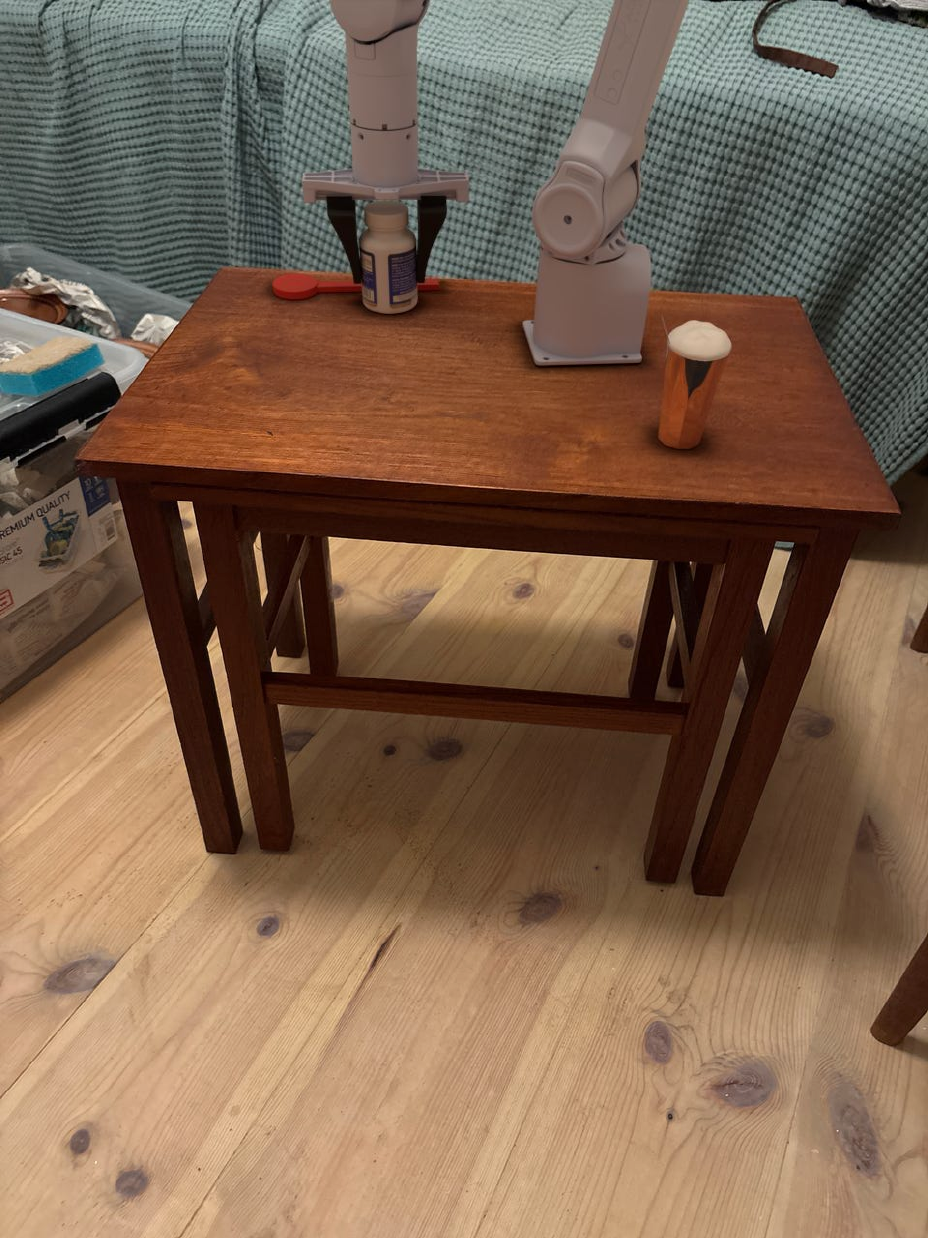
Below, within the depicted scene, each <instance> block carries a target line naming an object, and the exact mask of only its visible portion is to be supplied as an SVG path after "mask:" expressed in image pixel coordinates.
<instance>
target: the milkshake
mask: <svg viewBox="0 0 928 1238" xmlns="http://www.w3.org/2000/svg"><path fill="white" fill-rule="evenodd" d="M661 319H662V325H663V326H664V327H663V328H664V331H665V335H666V353H665V362H664V363H665V365H664V381H663V391H662V392H663V394H662V401H661V410H660V419H659V426H658V434H657V435H658V436H657V438H658V440H659V441H660V442H661V443H662V444H663V445H664V446H666V447H669V448H672V449H675V450H690V449H691V450H692V448H694V447H696V446H698V445H700V441H701V439H702V435H703V432H704V429H705V426H706V423H707V420H708V416H709V414H710V411H711V408H712V405H713V401H714V399H715V395H716V391H717V389H718V386H719V384H720V382H721V381H720V380H721V378H722V375H723V373H724V370H725V366H726V364H727V361H728V358H729V356H730V352H731V349H732V342H731V340H730V338H729V336H728V334H727V333H726V331H725V330H723V329H722V328H719V327H717V326H716V325H714V324H713V323H711V322H708V321H699V320H695V319H694V320H693V319H692V320H689V321H687V322H685V323H683V324H681V325H679V326H677V327H674V329H672V330H671V331H670V332H669V333H668V331H667V330H668V329H667V326H666V323H665V320H664V317H663V316H661Z"/></svg>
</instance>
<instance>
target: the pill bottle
mask: <svg viewBox="0 0 928 1238" xmlns="http://www.w3.org/2000/svg"><path fill="white" fill-rule="evenodd" d="M363 210H364V211H363V213H364V214H363V215H364V216H363V217H364V225H365V227H367V228H366V229H364V230H363V231H362V232H361V233H360V235H359V239H358V248H359V256H360V267H361V283H362V292H361V296H362V303H363V305H364V306H365V307H366V308H367V309H368V310H369V311H372V312H374V313H378V314H387V315H393V314H395V315H396V314H401V313H404V312H408V311H410V310H412V309H414V307H416V305H417V303H418V291H417V237H416V234H415V233H414V232H413V231H412V230H411V229H410V228H408V226H409V224H410V218H409V216H410V215H409V214H410V213H409V207H408V206H407V204H406V203H403V202H400V201H398V200H374V201H372V202H370V203H367V204H365V206H364V209H363Z"/></svg>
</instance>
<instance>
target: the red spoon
mask: <svg viewBox="0 0 928 1238" xmlns="http://www.w3.org/2000/svg"><path fill="white" fill-rule="evenodd" d="M439 290H440V283H439V279H438V278H425V283H417V292H419V291H439ZM272 292H273V293H274V295H275V296H277V297H278V298H281V299H285V300H304V299H308V298H311V297H313V296H315V295H317V294H319V293H360V292H361V293H362V283H361V284H354V281H353V279H352V280H351V279H350V280H349V279H347V280H318V278H317V277H315V276H313V275H310V274H307V273H300V272H299V273H298V272H293V273H286V274H282V275H280V276H277V277H276V278H274V279H273V281H272Z"/></svg>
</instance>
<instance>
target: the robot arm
mask: <svg viewBox="0 0 928 1238" xmlns="http://www.w3.org/2000/svg"><path fill="white" fill-rule="evenodd" d="M430 3H431V0H329V4H330V9H331V12H332V14H333V17H334V19H335V21H336V23H337V24H338V25H339V27H340V28H341V29H342V31H344V34H345V37H344V38H345V54H346V57H345V58H346V71H347V73H346V74H347V90H348V104H349V105H348V109H349V126H350V127H349V129H350V146H351V163H352V165H351V166H352V168H345V169H337V170H328V171H319V172H318V171H317V172H302V177H301V185H302V197H303V198H302V199H303V203H304V204H315V203H317V201H326V215H327V218H328V220H329V223H330V224H331V226H332V227H333V230H334V231H335V234H336V235H337V236H338V239H339V240H340V243H341V245H342V246H343V250H344V252H345V255H346V257H347V261H348V264H349V267H350V271H351V274H352V275H351V276H352V280H353V281H354V284H361V267H360V251H359V240H358V230H357V229H358V228H357V226H358V225H357V208H356V201H384V200H390V201H416V211H417V212H416V214H417V216H416V217H417V241H416V245H417V283H425V279H426V274H427V270H428V264H429V262H430V257H431V254H432V251H433V248H434V245H435V242H436V240H437V237H438V235H439V233H440V231H441V229H442V227H443V225H444V224H445V221H446V218H447V215H448V206H447V200H449V201H450V200H455V201H456V203H469V196H470V195H469V191H470V189H469V188H470V180H469V176H468V172H458V171H444V170H436V169H428V168H419V121H418V117H419V116H418V115H419V114H418V113H419V112H418V33H419V32H418V31H419V27H420V24H421V23H422V21H423V19H424V18H425V17H426V15H427V12H428V10H429V7H430ZM689 4H690V0H613V4H612V7H611V10H610V14H609V17H608V21H607V24H606V28H605V30H604V34H603V37H602V40H601V44H600V49H599V50H598V55H597V58H596V61H595V64H594V67H593V71H592V75H591V78H590V81H589V84H588V88H587V91H586V93H585V98H584V102H583V104H582V109H581V112H580V114H579V117H578V120H577V122H576V124H575V126H574V127H573V129H572V130H571V133H570V135H569V137H568V138H567V140H566V141H565V144H564V146H563V148H562V149H561V151H560V154H559V157H558V160H557V163H556V166H555V169H554V171H553V173H552V175H551V177H549V179H548V180H547V181H546V182H545V183H544V184H543V185H542V187H541V188H540V189H539V190H538V192H537V194H536V196H535V198H534V201H533V204H532V209H531V221H532V227H533V229H534V232H535V235H536V237H537V238H538V240H539V253H538V263H537V275H536V276H537V277H536V288H535V302H534V303H535V304H534V313H533V314H534V315H533V320H532V319H530V320H529V319H527V320H523V321H522V326H521V327H522V330H523V332H524V335H525V339H526V342H527V345H528V347H529V350H530V354H531V356H532V359H533V362H534V364H535V365H537V366H568V365H569V366H572V365H573V366H574V365H604V364H605V365H607V364H608V365H609V364H638V363H641V362H642V358H643V357H642V354H641V349H642V343H643V337H644V331H645V326H646V320H647V313H648V307H649V302H650V297H651V288H652V261H651V256H650V255H651V254H650V253H649V249H648V248H647V246H646V245H644V244H642V243H641V244H640V243H631V242H628V239H627V233H626V230H625V225H624V220H625V219H626V218H627V217H629V216H630V215H631V214H632V213H633V211H634V210H635V208H636V207H637V205H638V203H639V200H640V198H641V192H642V178H641V162H642V160H643V159H642V158H643V155H644V152H645V150H646V147H647V139H646V132H645V130H646V127H647V123H648V120H649V117H650V115H651V111H652V109H653V106H654V103H655V101H656V98H657V95H658V92H659V89H660V86H661V83H662V81H663V77H664V74H665V72H666V69H667V66H668V63H669V60H670V57H671V55H672V52H673V48H674V46H675V43H676V40H677V38H678V35H679V32H680V30H681V29H680V28H681V26H682V23H683V20H684V17H685V15H686V11H687V9H688V6H689Z"/></svg>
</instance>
